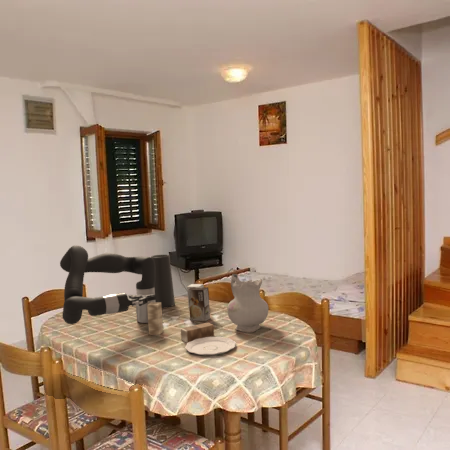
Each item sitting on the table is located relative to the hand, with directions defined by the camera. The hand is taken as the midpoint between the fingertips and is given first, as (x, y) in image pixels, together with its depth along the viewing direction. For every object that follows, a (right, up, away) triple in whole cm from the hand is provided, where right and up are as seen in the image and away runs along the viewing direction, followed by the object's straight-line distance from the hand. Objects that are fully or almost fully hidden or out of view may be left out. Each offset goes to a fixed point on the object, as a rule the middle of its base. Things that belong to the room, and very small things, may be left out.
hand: (154, 297), depth 192 cm
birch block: (-3, -20, +22) cm, 30 cm away
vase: (-7, -17, +75) cm, 77 cm away
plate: (+24, -21, -2) cm, 32 cm away
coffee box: (+17, -18, +41) cm, 48 cm away
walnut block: (+11, -18, +8) cm, 23 cm away
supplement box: (+14, -16, +66) cm, 69 cm away
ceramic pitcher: (+40, -18, +23) cm, 49 cm away
